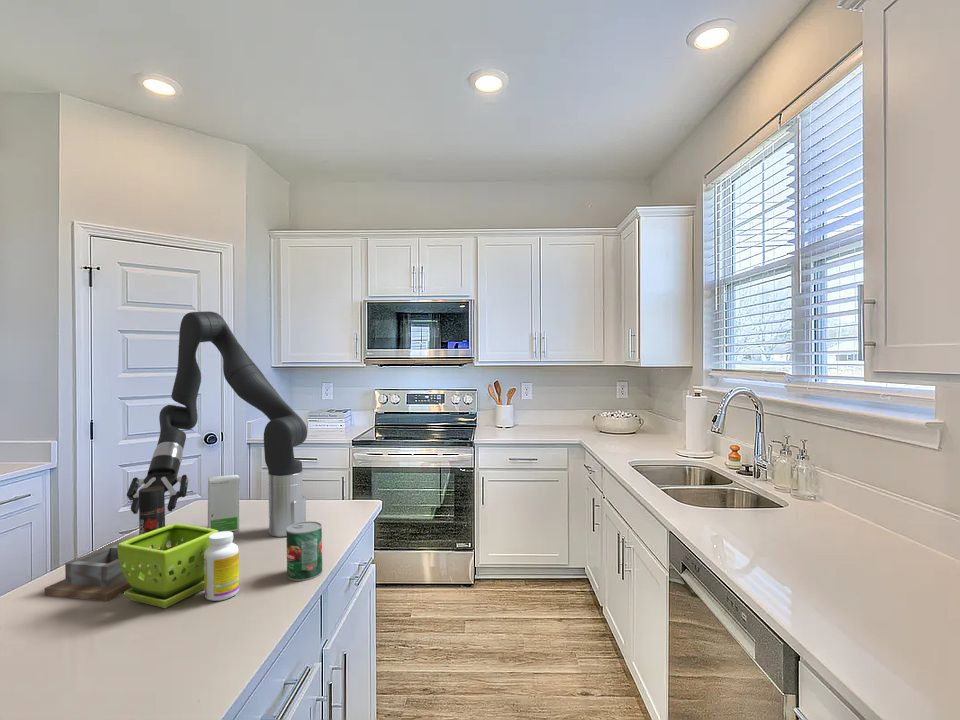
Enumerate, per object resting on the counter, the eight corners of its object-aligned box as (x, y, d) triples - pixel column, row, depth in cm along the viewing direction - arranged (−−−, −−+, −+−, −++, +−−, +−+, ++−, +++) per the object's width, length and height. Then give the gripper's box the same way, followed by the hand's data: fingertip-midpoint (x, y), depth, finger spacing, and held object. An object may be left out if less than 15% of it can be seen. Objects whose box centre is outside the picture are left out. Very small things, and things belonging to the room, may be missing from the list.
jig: (187, 559, 128) (186, 535, 128) (106, 601, 106) (106, 572, 106) (133, 555, 131) (133, 532, 131) (44, 594, 110) (44, 567, 109)
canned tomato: (329, 570, 121) (329, 523, 121) (305, 583, 114) (304, 534, 114) (304, 564, 124) (303, 519, 124) (279, 577, 117) (278, 529, 117)
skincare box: (208, 536, 145) (207, 481, 145) (207, 529, 150) (206, 476, 150) (240, 530, 149) (240, 477, 149) (238, 524, 155) (238, 473, 154)
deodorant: (170, 540, 142) (169, 486, 142) (154, 548, 136) (153, 492, 136) (150, 539, 143) (149, 486, 142) (134, 547, 137) (133, 491, 137)
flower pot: (114, 604, 105) (113, 543, 105) (176, 577, 118) (175, 522, 118) (164, 616, 100) (163, 551, 100) (222, 585, 113) (221, 528, 113)
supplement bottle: (246, 590, 111) (245, 531, 111) (221, 604, 104) (221, 541, 104) (222, 585, 113) (221, 528, 113) (197, 599, 107) (196, 538, 107)
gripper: (135, 455, 146) (118, 506, 135) (190, 452, 150) (177, 502, 139) (142, 469, 151) (126, 520, 140) (195, 466, 155) (184, 515, 144)
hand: (152, 511), depth 139 cm, fingers open, 8 cm apart
